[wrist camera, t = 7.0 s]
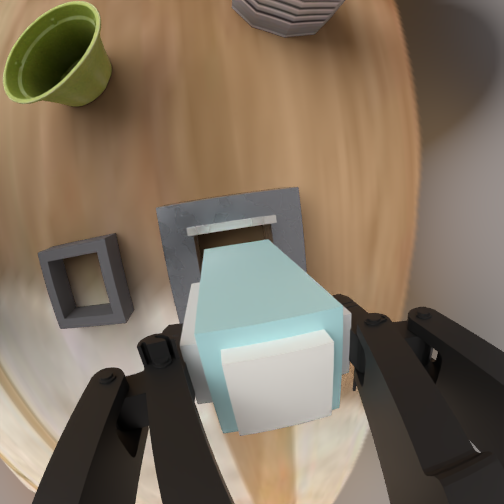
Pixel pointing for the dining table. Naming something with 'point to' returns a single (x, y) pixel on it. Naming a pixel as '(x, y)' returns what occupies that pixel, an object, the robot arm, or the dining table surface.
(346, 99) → the dining table surface
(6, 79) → the plant pot
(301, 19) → the can
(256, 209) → the port block
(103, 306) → the holster
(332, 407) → the plug
